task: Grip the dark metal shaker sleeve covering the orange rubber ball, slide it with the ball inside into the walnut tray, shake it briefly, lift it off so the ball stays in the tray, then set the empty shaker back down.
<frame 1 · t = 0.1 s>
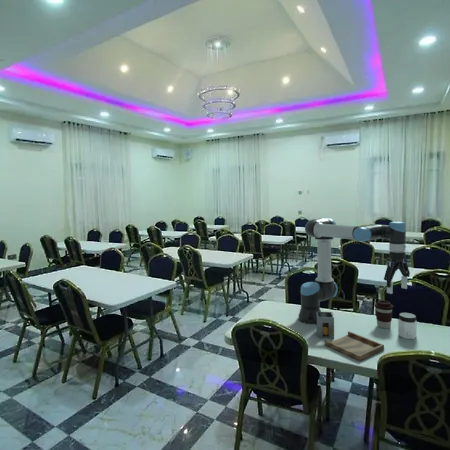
hand: (397, 290, 170), 28 cm above the table, tool pointing down, fingers open, 13 cm apart
jar: (407, 336, 178), on the table
ball: (325, 330, 184), point 2 cm above the table
coffee cup: (383, 326, 192), on the table
shaker: (325, 334, 184), on the table
tray: (353, 347, 168), on the table
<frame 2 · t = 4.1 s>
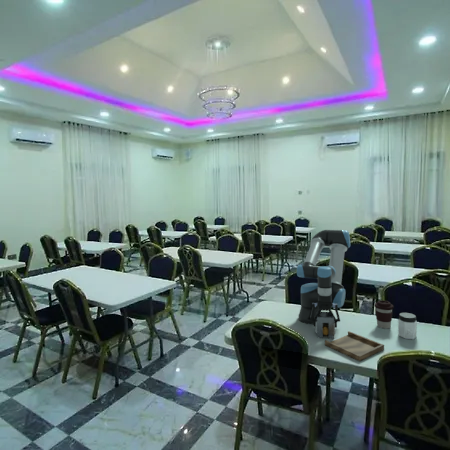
hand: (325, 332, 184), 1 cm above the table, tool pointing down, fingers closed on shaker, 9 cm apart
shaker: (325, 334, 184), on the table, touching gripper
everything else where it was.
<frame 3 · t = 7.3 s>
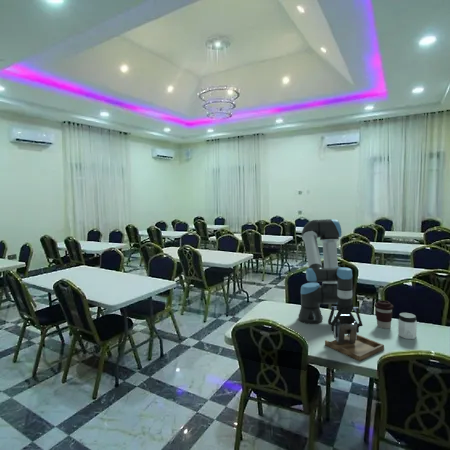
hand: (344, 337, 172), 3 cm above the table, tool pointing down, fingers closed on shaker, 10 cm apart
ball: (340, 336, 175), point 3 cm above the table, tilted 165°, touching shaker, tray
shaker: (343, 338, 174), point 2 cm above the table, tilted 12°, touching ball, gripper
everything else where it was.
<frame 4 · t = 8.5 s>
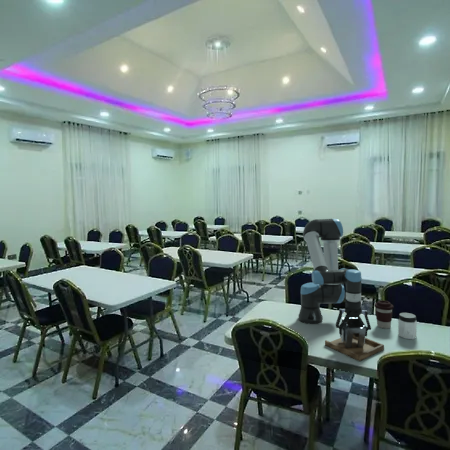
hand: (352, 341, 168), 3 cm above the table, tool pointing down, fingers closed on shaker, 10 cm apart
ball: (347, 339, 171), point 3 cm above the table, tilted 148°, touching shaker, tray
shaker: (351, 341, 170), point 2 cm above the table, tilted 15°, touching ball, gripper
everything else where it was.
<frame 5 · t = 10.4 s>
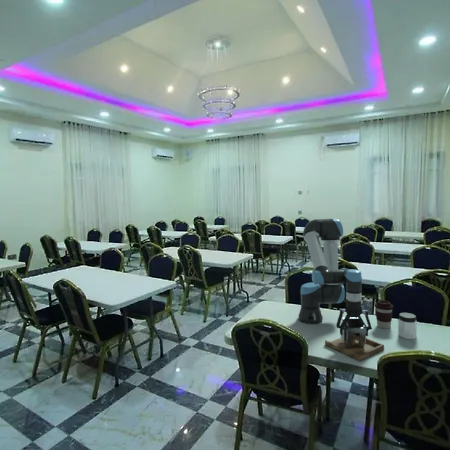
hand: (353, 341, 168), 3 cm above the table, tool pointing down, fingers closed on shaker, 10 cm apart
ball: (350, 340, 169), point 3 cm above the table, tilted 115°, touching tray
shaker: (352, 341, 170), point 2 cm above the table, tilted 15°, touching gripper
everything else where it was.
when the fingers open (3 cm above the table, at t = 15.9 s): shaker drops 2 cm, on the table.
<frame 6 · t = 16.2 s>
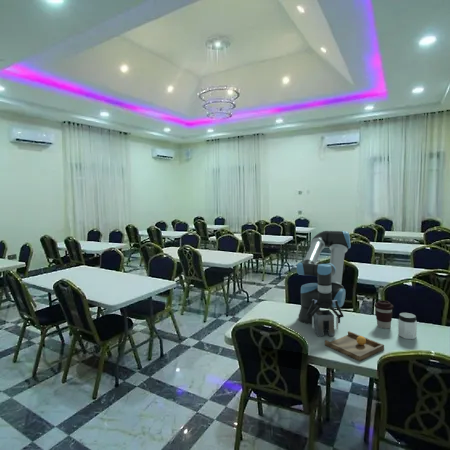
hand: (325, 327, 184), 4 cm above the table, tool pointing down, fingers open, 13 cm apart
ball: (361, 340, 169), point 3 cm above the table, tilted 38°, touching tray
shaker: (324, 332, 186), on the table
everything else where it was.
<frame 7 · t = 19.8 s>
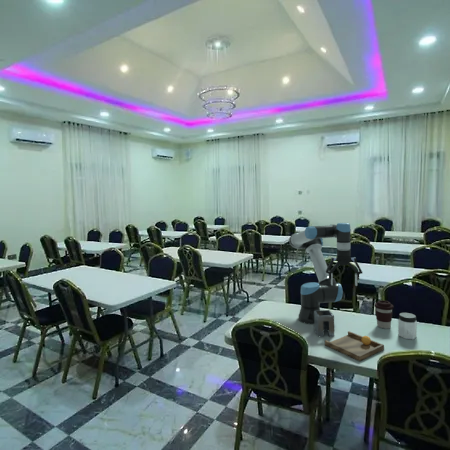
hand: (343, 284, 189), 27 cm above the table, tool pointing down, fingers open, 13 cm apart
ball: (366, 340, 169), point 3 cm above the table, tilted 83°, touching tray
everything else where it was.
at the end: ball inside the target area on the tray (7.1 cm from its centre), point 2.9 cm above the tray's base; shaker inside the target area (2.3 cm from its centre), on the table; shaker tilted 0° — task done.
